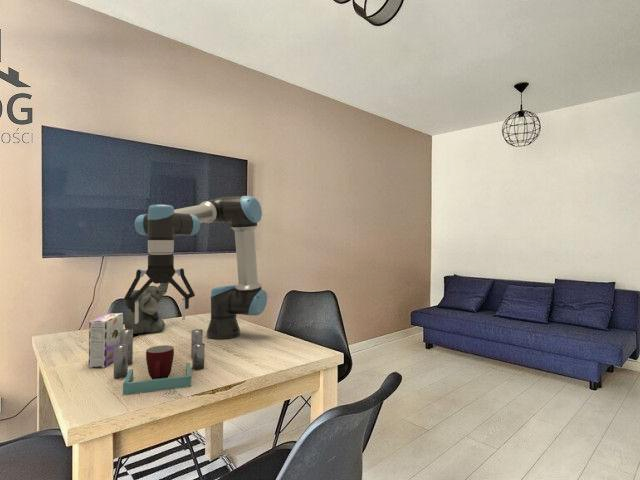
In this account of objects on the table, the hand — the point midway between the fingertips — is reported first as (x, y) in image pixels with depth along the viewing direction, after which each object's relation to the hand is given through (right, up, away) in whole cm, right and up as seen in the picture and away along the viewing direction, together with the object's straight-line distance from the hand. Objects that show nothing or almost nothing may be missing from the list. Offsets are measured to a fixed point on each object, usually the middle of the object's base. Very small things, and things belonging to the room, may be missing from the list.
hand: (160, 321), depth 114 cm
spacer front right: (-14, -19, +3) cm, 24 cm away
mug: (0, -19, -1) cm, 19 cm away
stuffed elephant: (-35, -19, +62) cm, 74 cm away
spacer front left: (+8, -19, +12) cm, 24 cm away
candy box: (-27, -19, +18) cm, 38 cm away
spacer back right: (-19, -19, +15) cm, 31 cm away
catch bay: (0, -19, -1) cm, 19 cm away
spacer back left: (+3, -19, +24) cm, 31 cm away
